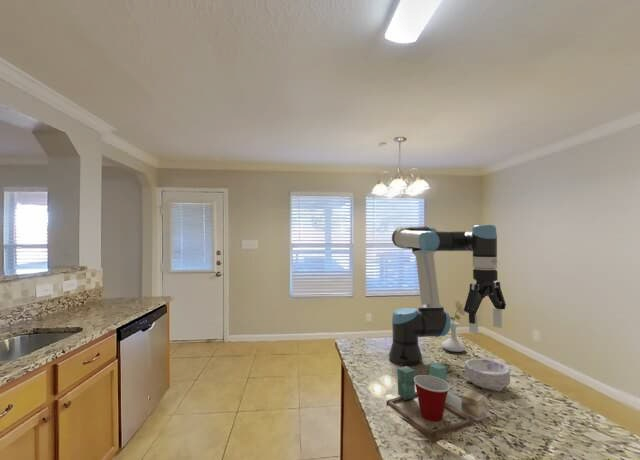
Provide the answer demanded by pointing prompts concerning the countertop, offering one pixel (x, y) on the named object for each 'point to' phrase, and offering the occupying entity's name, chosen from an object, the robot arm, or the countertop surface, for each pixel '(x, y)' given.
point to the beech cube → (473, 403)
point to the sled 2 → (452, 399)
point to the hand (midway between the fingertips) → (486, 330)
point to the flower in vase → (454, 333)
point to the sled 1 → (408, 391)
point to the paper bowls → (487, 373)
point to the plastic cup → (431, 396)
